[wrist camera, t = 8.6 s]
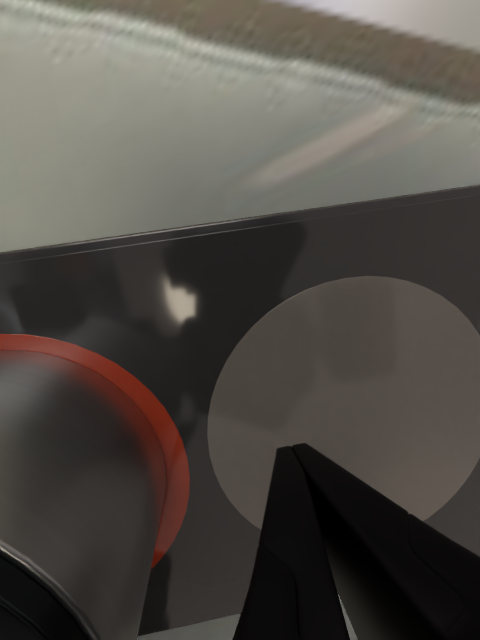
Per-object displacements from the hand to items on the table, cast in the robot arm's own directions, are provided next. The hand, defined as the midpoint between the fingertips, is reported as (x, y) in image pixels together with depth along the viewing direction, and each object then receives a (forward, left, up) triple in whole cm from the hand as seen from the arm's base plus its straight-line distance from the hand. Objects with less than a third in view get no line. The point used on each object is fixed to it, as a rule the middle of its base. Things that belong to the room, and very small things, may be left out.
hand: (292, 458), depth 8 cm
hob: (-3, 0, -2) cm, 4 cm away
